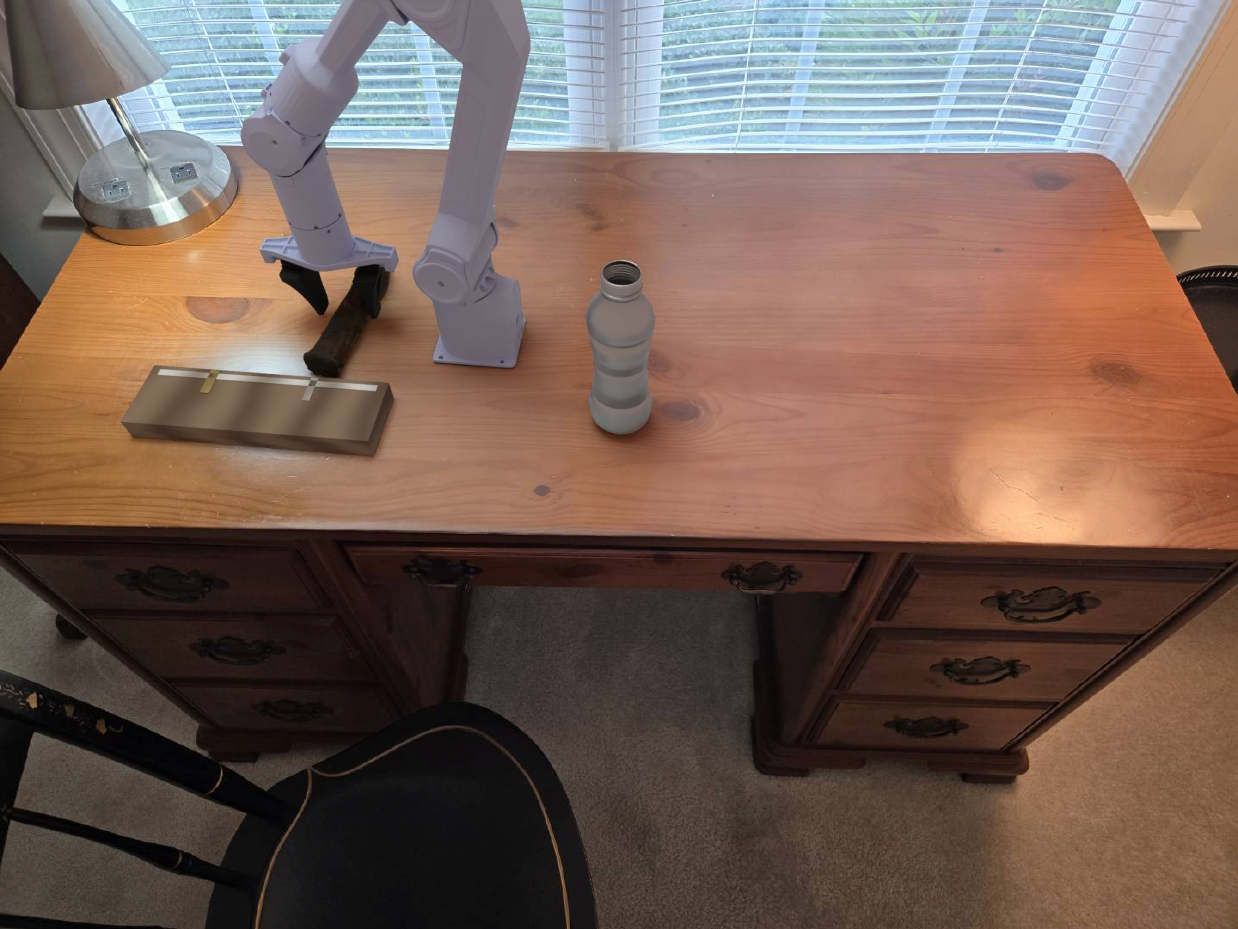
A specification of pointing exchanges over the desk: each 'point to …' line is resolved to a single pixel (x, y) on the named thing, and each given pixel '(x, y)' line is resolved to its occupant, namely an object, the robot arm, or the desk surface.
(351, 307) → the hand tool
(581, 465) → the desk surface
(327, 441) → the grey brown flat box
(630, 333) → the plastic bottle
